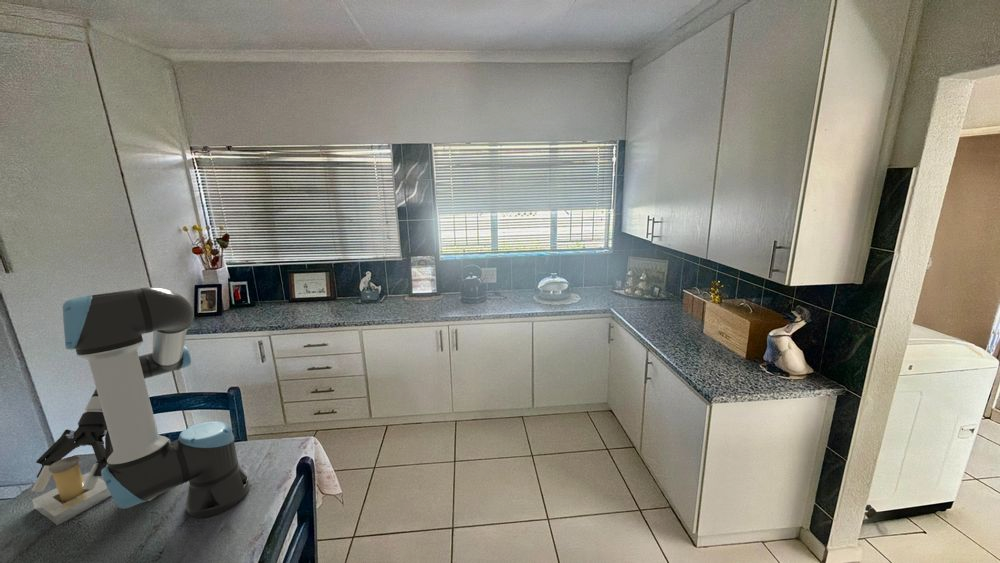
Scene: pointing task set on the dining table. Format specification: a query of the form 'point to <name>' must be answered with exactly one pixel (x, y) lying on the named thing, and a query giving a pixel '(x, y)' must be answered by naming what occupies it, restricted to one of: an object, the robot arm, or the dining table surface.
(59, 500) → the housing
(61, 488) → the yellow and grey cylinder
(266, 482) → the dining table surface
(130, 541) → the dining table surface
